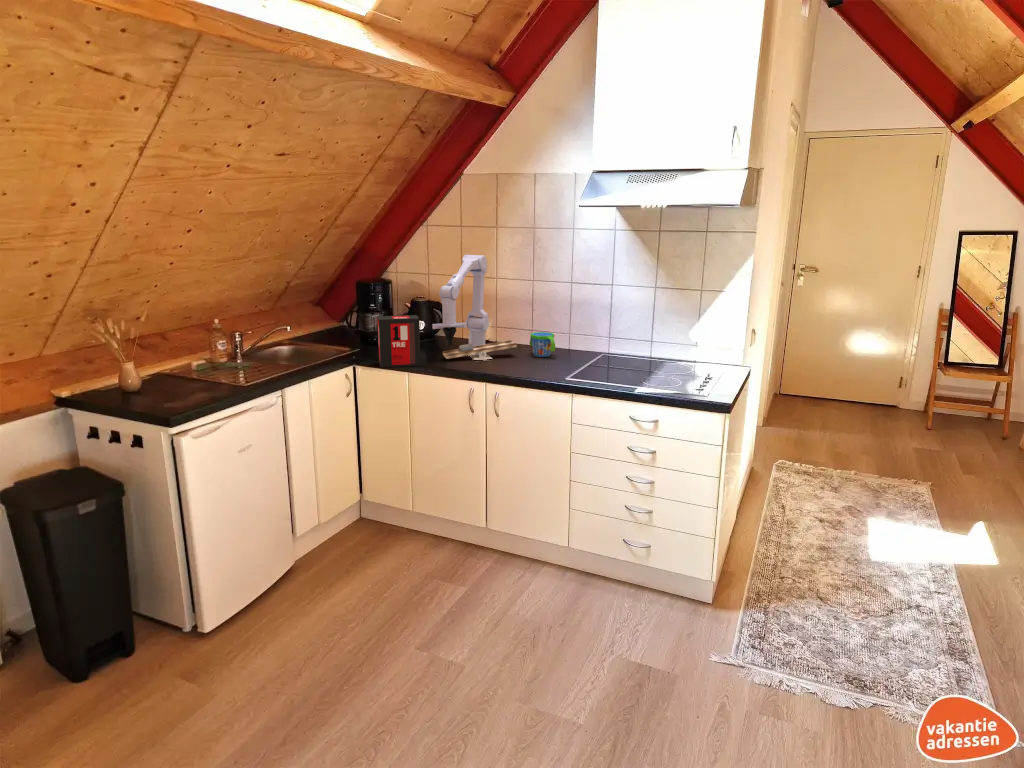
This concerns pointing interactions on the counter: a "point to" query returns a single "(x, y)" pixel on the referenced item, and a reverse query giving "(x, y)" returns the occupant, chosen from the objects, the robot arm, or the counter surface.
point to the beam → (479, 349)
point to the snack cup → (542, 343)
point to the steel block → (466, 347)
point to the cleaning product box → (399, 340)
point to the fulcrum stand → (480, 356)
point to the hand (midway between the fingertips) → (449, 344)
